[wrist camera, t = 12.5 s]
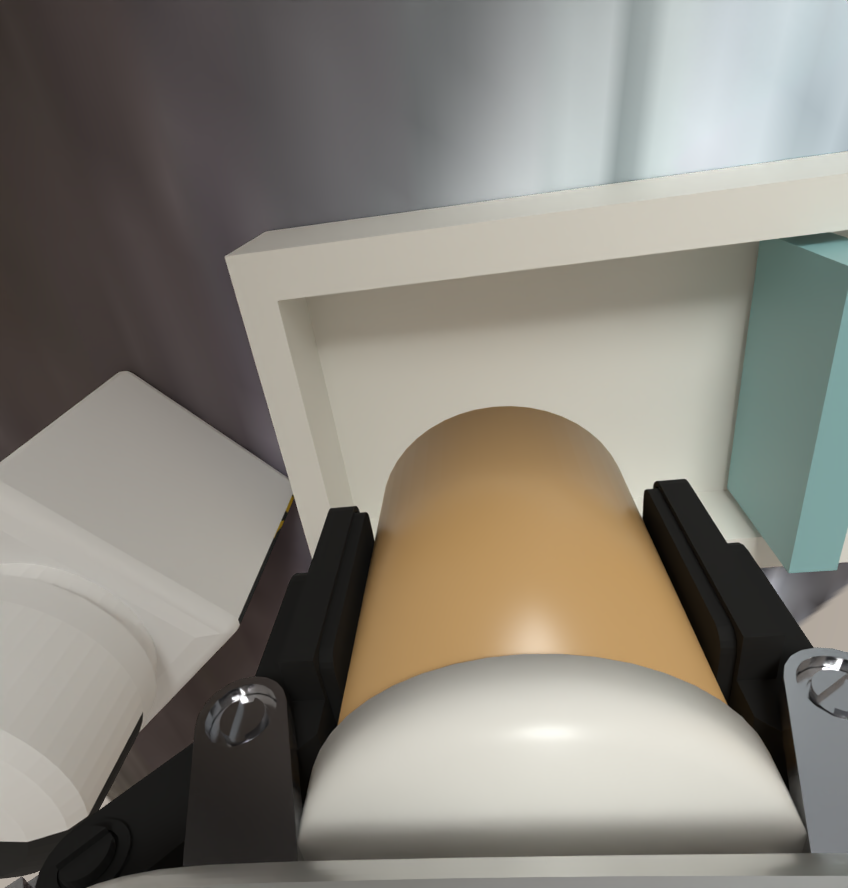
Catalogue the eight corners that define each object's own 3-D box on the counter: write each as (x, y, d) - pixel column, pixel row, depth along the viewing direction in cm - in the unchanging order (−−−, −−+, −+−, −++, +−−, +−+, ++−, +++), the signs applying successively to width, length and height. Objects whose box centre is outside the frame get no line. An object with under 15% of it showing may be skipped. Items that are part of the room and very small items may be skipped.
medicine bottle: (207, 591, 24) (19, 949, 14) (44, 496, 22) (-318, 830, 12) (303, 482, 22) (157, 830, 11) (125, 363, 20) (-257, 648, 9)
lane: (265, 231, 17) (182, 282, 12) (975, 133, 15) (1246, 144, 10) (341, 531, 23) (305, 658, 17) (876, 489, 20) (1020, 618, 15)
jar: (351, 411, 12) (225, 754, 6) (641, 382, 12) (883, 730, 5) (395, 618, 15) (344, 1011, 8) (631, 604, 14) (778, 1017, 8)
